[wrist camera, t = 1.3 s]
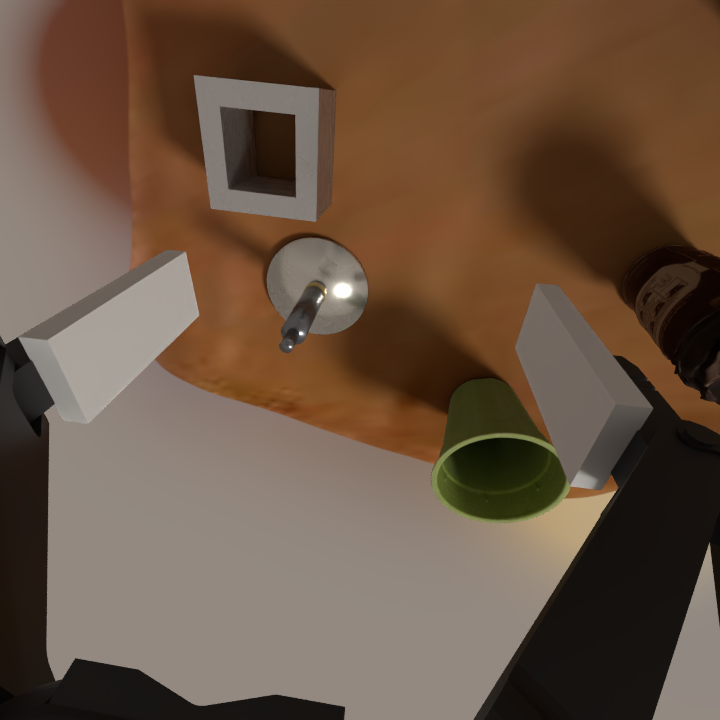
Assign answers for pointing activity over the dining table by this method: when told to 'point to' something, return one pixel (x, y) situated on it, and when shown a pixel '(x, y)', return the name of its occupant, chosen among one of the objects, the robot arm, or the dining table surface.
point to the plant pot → (495, 458)
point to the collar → (238, 153)
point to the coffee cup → (681, 311)
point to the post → (316, 288)
